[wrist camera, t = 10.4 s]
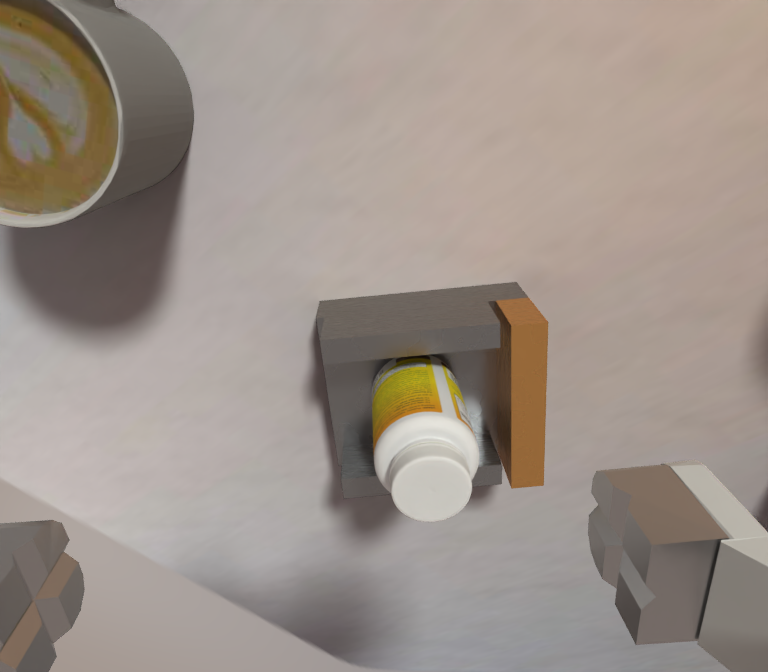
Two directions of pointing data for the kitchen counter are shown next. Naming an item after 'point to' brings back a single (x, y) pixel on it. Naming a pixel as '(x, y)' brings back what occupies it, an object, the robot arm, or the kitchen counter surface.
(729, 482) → the kitchen counter surface
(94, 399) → the kitchen counter surface
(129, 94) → the coffee mug
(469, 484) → the supplement bottle
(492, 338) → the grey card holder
